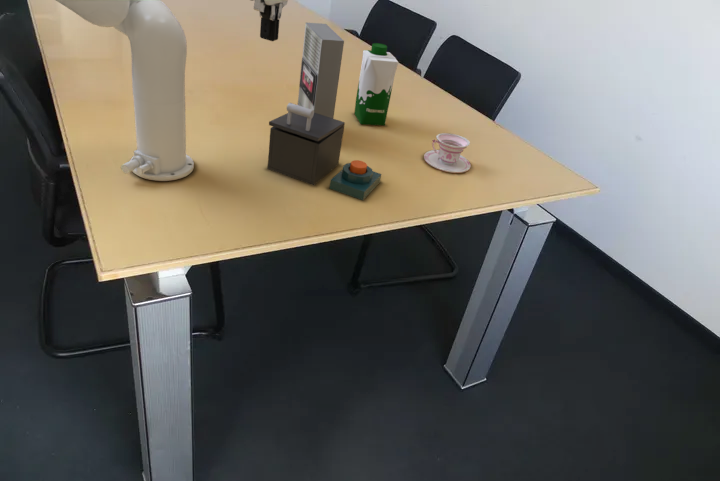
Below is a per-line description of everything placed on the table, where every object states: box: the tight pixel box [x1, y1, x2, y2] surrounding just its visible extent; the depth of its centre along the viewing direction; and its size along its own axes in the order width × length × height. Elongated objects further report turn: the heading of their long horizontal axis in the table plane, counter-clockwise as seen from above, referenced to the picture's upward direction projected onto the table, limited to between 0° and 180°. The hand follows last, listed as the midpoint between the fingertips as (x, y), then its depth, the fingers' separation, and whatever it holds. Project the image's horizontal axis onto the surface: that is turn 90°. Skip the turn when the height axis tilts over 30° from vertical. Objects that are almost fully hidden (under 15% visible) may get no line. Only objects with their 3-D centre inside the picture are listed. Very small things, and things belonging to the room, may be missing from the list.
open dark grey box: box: [267, 125, 345, 186], centre depth 125 cm, size 13×12×10 cm
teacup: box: [423, 132, 472, 174], centre depth 140 cm, size 12×12×6 cm
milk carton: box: [354, 42, 399, 126], centre depth 152 cm, size 9×9×20 cm
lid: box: [268, 102, 346, 141], centre depth 121 cm, size 13×12×5 cm
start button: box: [350, 159, 368, 174], centre depth 122 cm, size 4×4×2 cm
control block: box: [329, 162, 382, 201], centre depth 123 cm, size 10×8×4 cm
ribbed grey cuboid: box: [297, 22, 345, 119], centre depth 138 cm, size 14×6×25 cm, turn 21°
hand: (268, 38), depth 112 cm, fingers closed
